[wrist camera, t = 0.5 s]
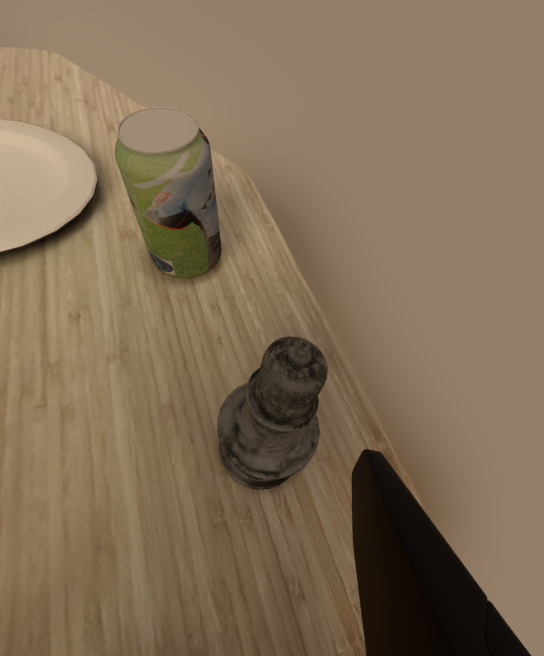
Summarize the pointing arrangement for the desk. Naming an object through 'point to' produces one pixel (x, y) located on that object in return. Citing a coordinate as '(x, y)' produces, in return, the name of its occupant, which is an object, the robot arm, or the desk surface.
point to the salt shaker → (274, 415)
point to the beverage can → (171, 188)
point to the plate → (40, 183)
